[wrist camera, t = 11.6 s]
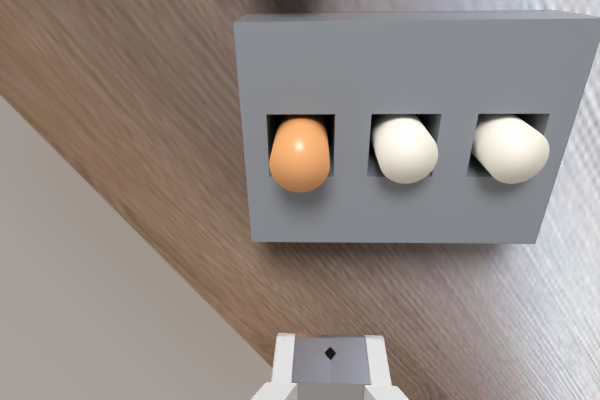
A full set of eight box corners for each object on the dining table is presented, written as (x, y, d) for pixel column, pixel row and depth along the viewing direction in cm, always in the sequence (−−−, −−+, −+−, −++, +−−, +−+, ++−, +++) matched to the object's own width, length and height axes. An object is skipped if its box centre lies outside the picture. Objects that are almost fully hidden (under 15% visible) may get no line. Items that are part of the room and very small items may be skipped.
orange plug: (327, 104, 31) (330, 136, 25) (326, 151, 33) (329, 192, 27) (276, 104, 31) (267, 136, 25) (278, 151, 33) (270, 192, 27)
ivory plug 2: (509, 98, 32) (556, 128, 25) (498, 145, 33) (540, 184, 27) (459, 98, 32) (494, 129, 26) (451, 145, 34) (482, 183, 27)
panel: (554, 10, 29) (606, 18, 24) (503, 205, 37) (535, 243, 32) (247, 13, 30) (233, 22, 25) (260, 204, 38) (251, 241, 33)
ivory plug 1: (417, 99, 32) (442, 129, 26) (411, 145, 34) (433, 183, 27) (368, 99, 32) (381, 129, 26) (365, 145, 34) (376, 183, 28)
